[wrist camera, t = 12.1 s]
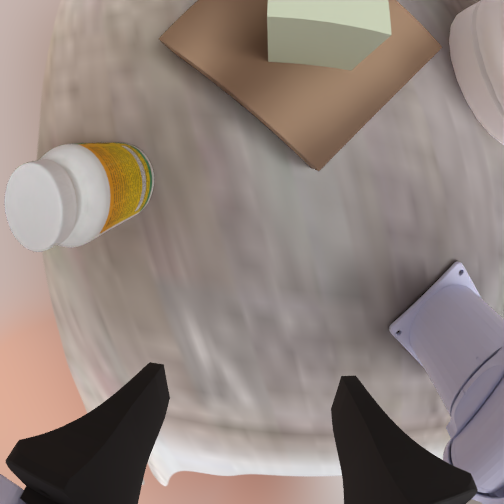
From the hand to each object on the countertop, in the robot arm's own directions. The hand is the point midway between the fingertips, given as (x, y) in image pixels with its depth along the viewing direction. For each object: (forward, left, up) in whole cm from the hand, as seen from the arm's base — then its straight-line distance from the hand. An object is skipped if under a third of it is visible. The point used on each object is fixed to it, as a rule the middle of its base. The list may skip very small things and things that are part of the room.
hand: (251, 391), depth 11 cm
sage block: (+9, -14, -7) cm, 18 cm away
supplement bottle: (+12, +1, -11) cm, 16 cm away
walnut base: (+9, -14, -10) cm, 20 cm away
